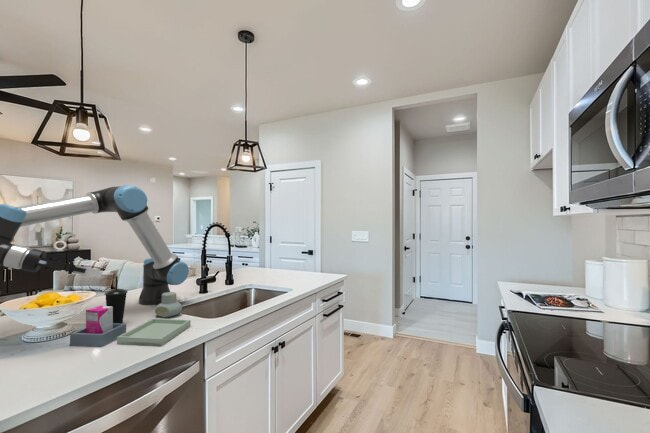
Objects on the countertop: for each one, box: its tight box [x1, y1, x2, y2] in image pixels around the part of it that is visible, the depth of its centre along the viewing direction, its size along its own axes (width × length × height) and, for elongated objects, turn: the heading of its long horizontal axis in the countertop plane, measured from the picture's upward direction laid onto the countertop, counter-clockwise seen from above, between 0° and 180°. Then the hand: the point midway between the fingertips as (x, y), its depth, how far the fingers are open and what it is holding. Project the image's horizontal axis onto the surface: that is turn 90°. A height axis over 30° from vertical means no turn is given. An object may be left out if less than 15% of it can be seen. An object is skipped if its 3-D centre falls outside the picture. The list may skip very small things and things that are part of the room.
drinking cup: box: [104, 275, 128, 324], centre depth 124 cm, size 8×8×20 cm
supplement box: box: [85, 305, 113, 334], centre depth 110 cm, size 6×6×12 cm
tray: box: [116, 318, 192, 347], centre depth 116 cm, size 20×16×2 cm
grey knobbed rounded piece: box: [154, 291, 183, 319], centre depth 138 cm, size 11×8×10 cm
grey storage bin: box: [69, 323, 127, 348], centre depth 110 cm, size 12×12×4 cm
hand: (99, 274), depth 113 cm, fingers open, 13 cm apart
